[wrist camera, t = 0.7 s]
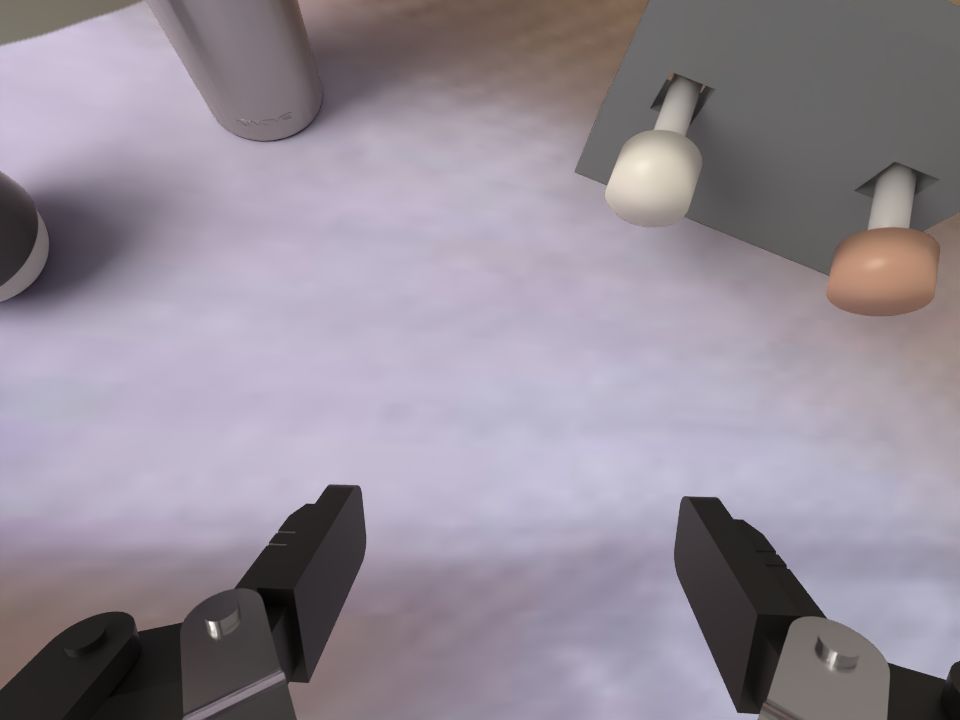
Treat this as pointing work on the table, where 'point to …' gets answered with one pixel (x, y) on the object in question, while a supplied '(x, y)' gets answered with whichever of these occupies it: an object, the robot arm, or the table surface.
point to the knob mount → (797, 112)
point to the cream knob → (659, 164)
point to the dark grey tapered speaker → (19, 239)
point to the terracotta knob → (886, 255)
